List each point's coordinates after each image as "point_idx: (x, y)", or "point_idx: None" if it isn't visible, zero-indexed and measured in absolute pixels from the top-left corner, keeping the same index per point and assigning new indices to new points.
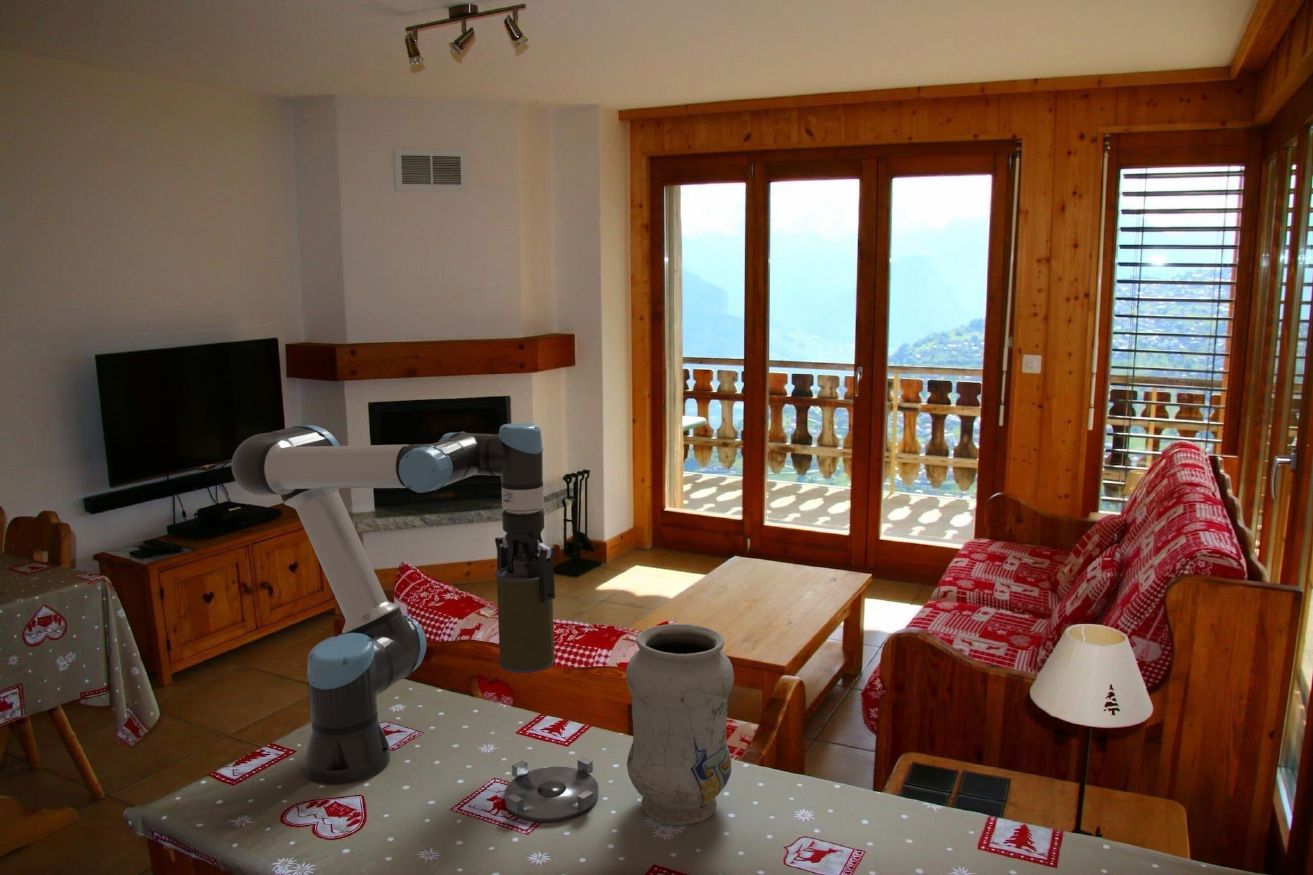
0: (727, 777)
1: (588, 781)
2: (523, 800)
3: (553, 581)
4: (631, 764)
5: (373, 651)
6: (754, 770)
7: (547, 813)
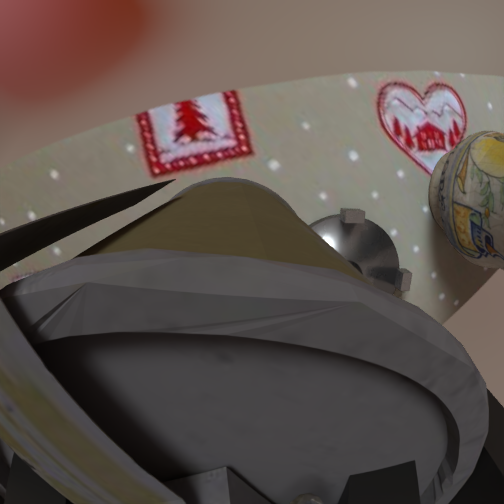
0: None
1: (370, 232)
2: None
3: (502, 414)
4: (473, 260)
5: None
6: (473, 80)
7: None
